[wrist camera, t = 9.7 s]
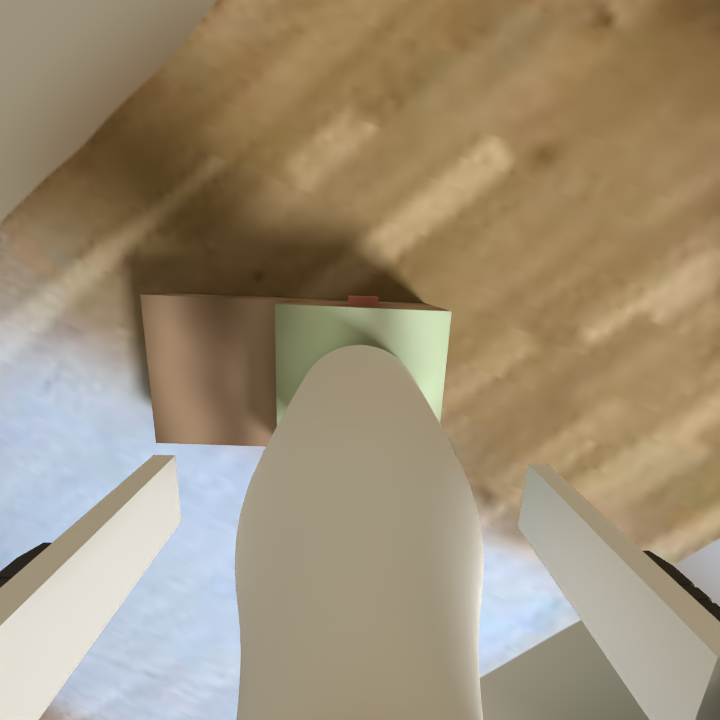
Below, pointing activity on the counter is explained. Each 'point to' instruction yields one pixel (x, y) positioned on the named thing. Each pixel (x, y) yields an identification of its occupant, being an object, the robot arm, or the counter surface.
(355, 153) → the counter surface
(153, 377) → the plinth
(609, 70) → the counter surface
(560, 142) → the counter surface
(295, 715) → the milk bottle
